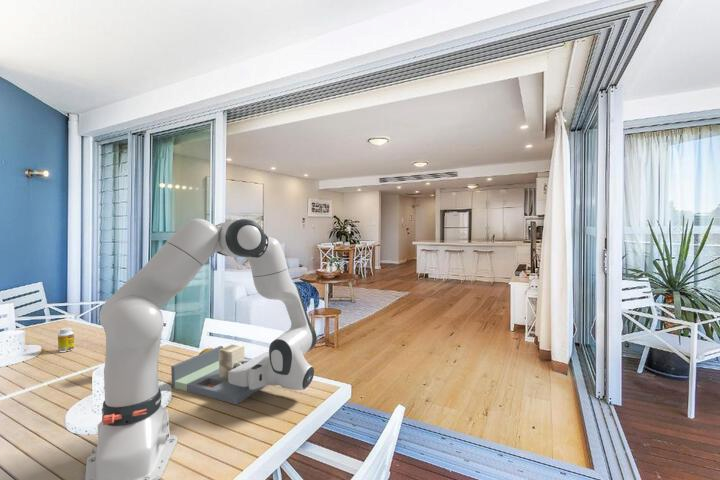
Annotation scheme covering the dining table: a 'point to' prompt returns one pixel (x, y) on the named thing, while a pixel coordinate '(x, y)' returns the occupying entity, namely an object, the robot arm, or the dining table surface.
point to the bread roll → (206, 350)
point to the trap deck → (210, 379)
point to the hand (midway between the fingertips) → (238, 363)
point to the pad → (195, 376)
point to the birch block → (229, 359)
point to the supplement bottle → (65, 339)
